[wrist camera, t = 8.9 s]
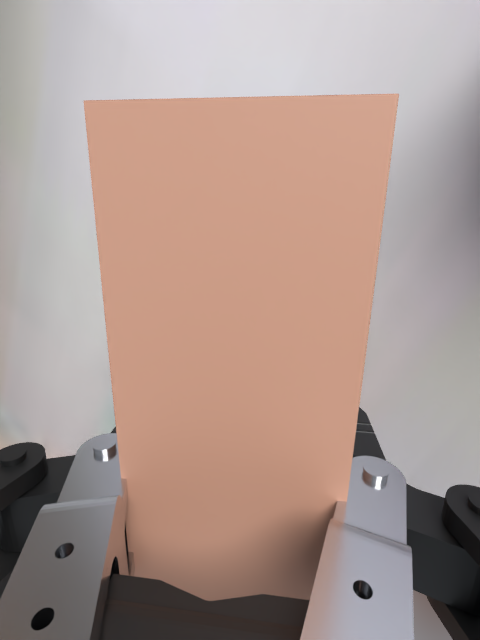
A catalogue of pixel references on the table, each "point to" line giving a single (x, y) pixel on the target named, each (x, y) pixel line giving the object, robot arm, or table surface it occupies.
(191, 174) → the peach lotion tube
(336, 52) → the table surface
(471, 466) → the table surface
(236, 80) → the table surface
